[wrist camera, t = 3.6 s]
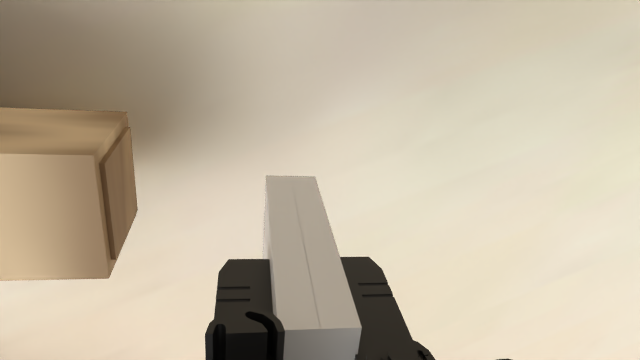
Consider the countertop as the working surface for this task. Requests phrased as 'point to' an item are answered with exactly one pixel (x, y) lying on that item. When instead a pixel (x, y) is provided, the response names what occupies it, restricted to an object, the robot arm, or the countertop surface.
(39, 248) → the peg
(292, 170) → the countertop surface
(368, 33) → the countertop surface
